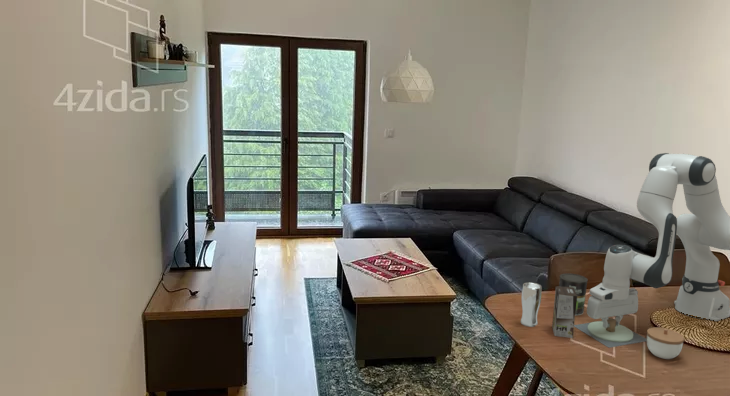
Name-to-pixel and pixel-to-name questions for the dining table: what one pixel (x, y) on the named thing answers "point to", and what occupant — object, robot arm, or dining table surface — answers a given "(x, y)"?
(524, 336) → the dining table surface
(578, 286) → the coffee can
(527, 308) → the beer glass
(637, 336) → the mat
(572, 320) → the coffee box
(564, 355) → the dining table surface
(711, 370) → the dining table surface
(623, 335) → the lid
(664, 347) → the lidded jar
